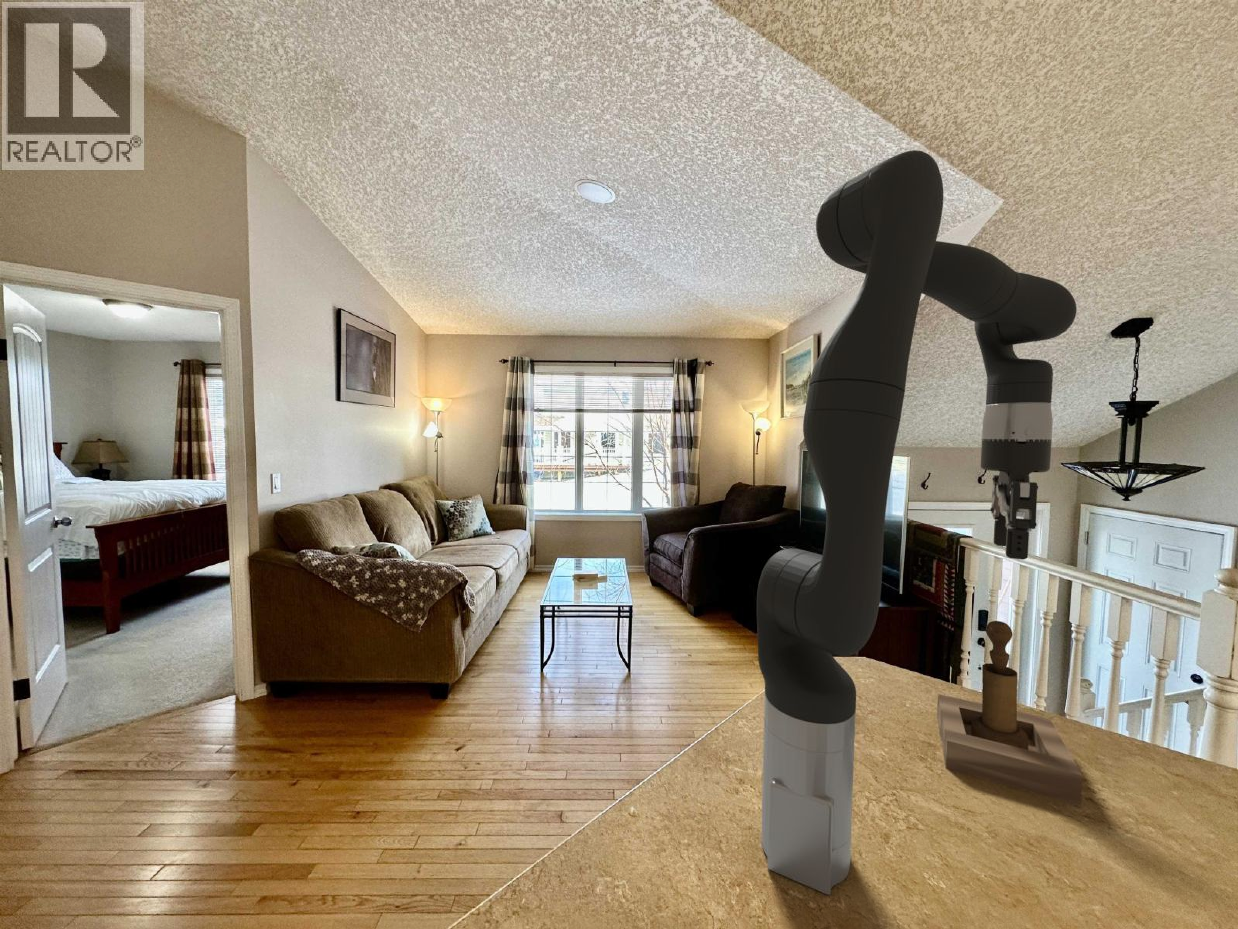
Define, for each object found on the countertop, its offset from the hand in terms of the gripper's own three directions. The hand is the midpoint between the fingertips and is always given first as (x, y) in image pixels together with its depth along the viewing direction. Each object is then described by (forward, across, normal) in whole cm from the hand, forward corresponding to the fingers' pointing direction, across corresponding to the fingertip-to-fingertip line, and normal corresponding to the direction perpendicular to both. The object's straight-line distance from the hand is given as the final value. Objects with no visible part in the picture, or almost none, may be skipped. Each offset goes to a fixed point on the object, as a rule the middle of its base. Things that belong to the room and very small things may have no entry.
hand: (1009, 551), depth 68 cm
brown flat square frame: (+30, 0, 0) cm, 30 cm away
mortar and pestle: (+28, 0, 0) cm, 29 cm away
